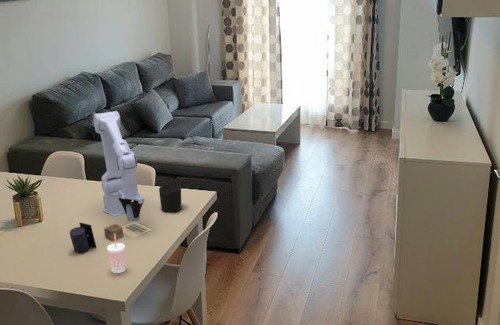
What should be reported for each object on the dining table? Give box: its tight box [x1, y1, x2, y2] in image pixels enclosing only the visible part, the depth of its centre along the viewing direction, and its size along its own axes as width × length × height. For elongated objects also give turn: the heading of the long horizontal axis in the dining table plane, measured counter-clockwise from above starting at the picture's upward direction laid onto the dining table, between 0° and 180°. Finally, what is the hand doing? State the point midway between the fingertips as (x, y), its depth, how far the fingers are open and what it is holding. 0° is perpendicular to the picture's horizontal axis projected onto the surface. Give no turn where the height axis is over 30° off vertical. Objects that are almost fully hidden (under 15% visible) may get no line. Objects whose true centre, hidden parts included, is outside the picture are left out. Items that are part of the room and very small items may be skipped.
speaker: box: [69, 222, 97, 254], centre depth 206 cm, size 8×6×10 cm
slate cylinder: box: [126, 204, 141, 223], centre depth 221 cm, size 5×5×6 cm
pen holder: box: [158, 184, 182, 214], centre depth 240 cm, size 9×9×10 cm
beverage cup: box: [106, 233, 126, 274], centre depth 190 cm, size 6×6×14 cm
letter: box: [121, 221, 152, 238], centre depth 223 cm, size 12×9×1 cm
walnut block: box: [103, 223, 124, 242], centre depth 216 cm, size 5×5×4 cm
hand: (132, 215), depth 221 cm, fingers closed on slate cylinder, 5 cm apart
